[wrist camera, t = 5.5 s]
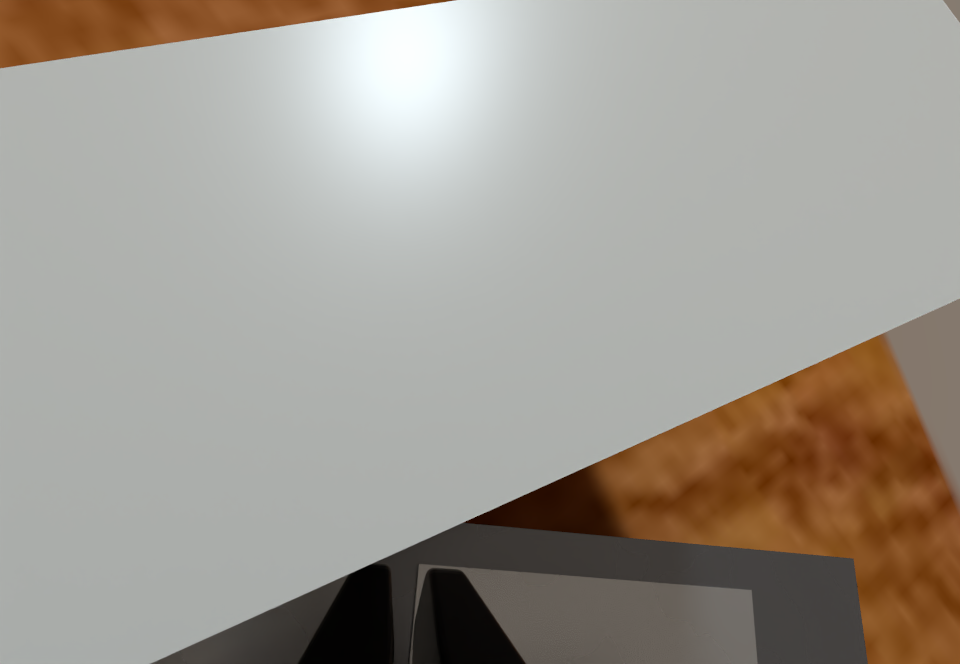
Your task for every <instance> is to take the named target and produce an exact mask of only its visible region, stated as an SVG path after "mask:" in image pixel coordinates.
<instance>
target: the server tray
mask: <svg viewBox="0 0 960 664" xmlns="http://www.w3.org/2000/svg"><path fill="white" fill-rule="evenodd" d="M375 564H386V565H388V566H389V567H390V569H391V578H392V601H393V624H394V664H412V654H413V631H414V624H415V618H416V613H417V609H418V605H419V600H420V596H421V591H422V587H423V583H424V578H425V575H426V573H427V571H428V570H429V569H431V568H445V569H458V570H461V571H462V572H463V573H464V574H465V575H466V576H467V578H468V579H469V581H470V582H471V584H472V585H473V586H474V588H475V589H476V591H477V592H478V594H479V595H480V597H481V598H482V600H483V601H484V603H485V604H486V606H487V607H488V608H489V610H490V611H491V613H492V614H493V616H494V617H495V619H496V620H497V622H498V623H499V625H500V626H501V628H502V629H503V630H504V632H505V633H506V635H507V636H508V638H509V639H510V641H511V642H512V644H513V645H514V647H515V648H516V650H517V651H518V653H519V654H520V655H521V657H522V658H523V660H524V661H525V663H526V664H868V663H867V655H866V648H865V641H864V634H863V626H862V619H861V612H860V604H859V597H858V590H857V582H856V575H855V568H854V561H853V559H851V558H840V557H829V556H818V555H807V554H797V553H786V552H775V551H764V550H753V549H742V548H731V547H720V546H709V545H699V544H688V543H677V542H666V541H655V540H644V539H633V538H622V537H611V536H601V535H590V534H579V533H568V532H557V531H546V530H535V529H524V528H513V527H503V526H492V525H481V524H470V523H461V524H459V525H457V526H454V527H452V528H450V529H448V530H446V531H443V532H441V533H439V534H437V535H434V536H432V537H430V538H428V539H426V540H423V541H421V542H419V543H417V544H415V545H412V546H410V547H408V548H406V549H403V550H401V551H399V552H397V553H395V554H392V555H390V556H388V557H386V558H383V559H381V560H379V561H377V562H375ZM347 576H348V575H346V576H344V577H341V578H339V579H337V580H335V581H333V582H330V583H328V584H326V585H324V586H321V587H319V588H317V589H315V590H313V591H310V592H308V593H306V594H304V595H301V596H299V597H297V598H295V599H293V600H290V601H288V602H286V603H284V604H282V605H279V606H277V607H275V608H273V609H270V610H268V611H266V612H264V613H262V614H259V615H257V616H255V617H253V618H251V619H248V620H246V621H244V622H242V623H239V624H237V625H235V626H233V627H231V628H228V629H226V630H224V631H222V632H220V633H217V634H215V635H213V636H211V637H208V638H206V639H204V640H202V641H200V642H197V643H195V644H193V645H191V646H188V647H186V648H184V649H182V650H180V651H177V652H175V653H173V654H171V655H169V656H166V657H164V658H162V659H160V660H157V661H155V662H153V663H151V664H297V663H298V662H299V660H300V658H301V656H302V655H303V653H304V651H305V649H306V648H307V646H308V644H309V642H310V641H311V639H312V637H313V635H314V634H315V632H316V630H317V628H318V627H319V625H320V623H321V621H322V620H323V618H324V616H325V615H326V613H327V611H328V609H329V608H330V606H331V604H332V602H333V601H334V599H335V597H336V595H337V594H338V592H339V590H340V588H341V587H342V585H343V583H344V581H345V580H346V578H347Z"/></svg>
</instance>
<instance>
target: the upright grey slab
mask: <svg viewBox="0 0 960 664" xmlns="http://www.w3.org/2000/svg"><path fill="white" fill-rule="evenodd" d="M957 299H960V23H959V21H958V20H957V19H956V17H955V16H954V15H953V13H952V12H951V11H950V9H949V8H948V6H947V5H946V4H945V2H944V1H943V0H457V1H450V2H444V3H437V4H430V5H423V6H417V7H410V8H403V9H397V10H390V11H383V12H376V13H370V14H363V15H356V16H350V17H343V18H336V19H329V20H323V21H316V22H309V23H303V24H296V25H289V26H282V27H276V28H269V29H262V30H256V31H249V32H242V33H236V34H229V35H222V36H215V37H209V38H202V39H195V40H189V41H182V42H175V43H168V44H162V45H155V46H148V47H142V48H135V49H128V50H121V51H115V52H108V53H101V54H95V55H88V56H81V57H74V58H68V59H61V60H54V61H48V62H41V63H34V64H28V65H21V66H14V67H7V68H1V69H0V664H151V663H153V662H155V661H157V660H160V659H162V658H164V657H166V656H169V655H171V654H173V653H175V652H177V651H180V650H182V649H184V648H186V647H188V646H191V645H193V644H195V643H197V642H200V641H202V640H204V639H206V638H208V637H211V636H213V635H215V634H217V633H220V632H222V631H224V630H226V629H228V628H231V627H233V626H235V625H237V624H239V623H242V622H244V621H246V620H248V619H251V618H253V617H255V616H257V615H259V614H262V613H264V612H266V611H268V610H270V609H273V608H275V607H277V606H279V605H282V604H284V603H286V602H288V601H290V600H293V599H295V598H297V597H299V596H301V595H304V594H306V593H308V592H310V591H313V590H315V589H317V588H319V587H321V586H324V585H326V584H328V583H330V582H333V581H335V580H337V579H339V578H341V577H344V576H346V575H348V574H350V573H352V572H355V571H357V570H359V569H361V568H364V567H366V566H368V565H370V564H372V563H375V562H377V561H379V560H381V559H383V558H386V557H388V556H390V555H392V554H395V553H397V552H399V551H401V550H403V549H406V548H408V547H410V546H412V545H415V544H417V543H419V542H421V541H423V540H426V539H428V538H430V537H432V536H434V535H437V534H439V533H441V532H443V531H446V530H448V529H450V528H452V527H454V526H457V525H459V524H461V523H463V522H465V521H468V520H470V519H472V518H474V517H477V516H479V515H481V514H483V513H485V512H488V511H490V510H492V509H494V508H496V507H499V506H501V505H503V504H505V503H508V502H510V501H512V500H514V499H516V498H519V497H521V496H523V495H525V494H528V493H530V492H532V491H534V490H536V489H539V488H541V487H543V486H545V485H547V484H550V483H552V482H554V481H556V480H559V479H561V478H563V477H565V476H567V475H570V474H572V473H574V472H576V471H578V470H581V469H583V468H585V467H587V466H590V465H592V464H594V463H596V462H598V461H601V460H603V459H605V458H607V457H609V456H612V455H614V454H616V453H618V452H621V451H623V450H625V449H627V448H629V447H632V446H634V445H636V444H638V443H641V442H643V441H645V440H647V439H649V438H652V437H654V436H656V435H658V434H660V433H663V432H665V431H667V430H669V429H672V428H674V427H676V426H678V425H680V424H683V423H685V422H687V421H689V420H691V419H694V418H696V417H698V416H700V415H703V414H705V413H707V412H709V411H711V410H714V409H716V408H718V407H720V406H722V405H725V404H727V403H729V402H731V401H734V400H736V399H738V398H740V397H742V396H745V395H747V394H749V393H751V392H754V391H756V390H758V389H760V388H762V387H765V386H767V385H769V384H771V383H773V382H776V381H778V380H780V379H782V378H785V377H787V376H789V375H791V374H793V373H796V372H798V371H800V370H802V369H804V368H807V367H809V366H811V365H813V364H816V363H818V362H820V361H822V360H824V359H827V358H829V357H831V356H833V355H836V354H838V353H840V352H842V351H844V350H847V349H849V348H851V347H853V346H855V345H858V344H860V343H862V342H864V341H867V340H869V339H871V338H873V337H875V336H878V335H880V334H882V333H884V332H886V331H889V330H891V329H893V328H895V327H898V326H900V325H902V324H904V323H906V322H908V321H911V320H913V319H915V318H917V317H920V316H922V315H924V314H926V313H928V312H930V311H933V310H935V309H937V308H939V307H942V306H944V305H946V304H949V303H951V302H953V301H955V300H957Z"/></svg>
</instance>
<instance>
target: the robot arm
mask: <svg viewBox="0 0 960 664" xmlns="http://www.w3.org/2000/svg"><path fill="white" fill-rule="evenodd" d="M297 664H394V624H393V601H392V578H391V569H390V567H389V566H388V565H386V564H375V563H372V564H370V565H368V566H366V567H364V568H361V569H359V570H357V571H355V572H352V573H350V574H348V576H347V578H346V580H345V581H344V583H343V585H342V587H341V588H340V590H339V592H338V594H337V595H336V597H335V599H334V601H333V602H332V604H331V606H330V608H329V609H328V611H327V613H326V615H325V616H324V618H323V620H322V621H321V623H320V625H319V627H318V628H317V630H316V632H315V634H314V635H313V637H312V639H311V641H310V642H309V644H308V646H307V648H306V649H305V651H304V653H303V655H302V656H301V658H300V660H299V662H298V663H297ZM412 664H526V663H525V661H524V660H523V658H522V657H521V655H520V654H519V653H518V651H517V650H516V648H515V647H514V645H513V644H512V642H511V641H510V639H509V638H508V636H507V635H506V633H505V632H504V630H503V629H502V628H501V626H500V625H499V623H498V622H497V620H496V619H495V617H494V616H493V614H492V613H491V611H490V610H489V608H488V607H487V606H486V604H485V603H484V601H483V600H482V598H481V597H480V595H479V594H478V592H477V591H476V589H475V588H474V586H473V585H472V584H471V582H470V581H469V579H468V578H467V576H466V575H465V574H464V573H463V572H462V571H461V570H458V569H445V568H431V569H429V570H428V571H427V573H426V575H425V578H424V583H423V587H422V591H421V596H420V600H419V605H418V609H417V613H416V618H415V624H414V631H413V654H412Z"/></svg>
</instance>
